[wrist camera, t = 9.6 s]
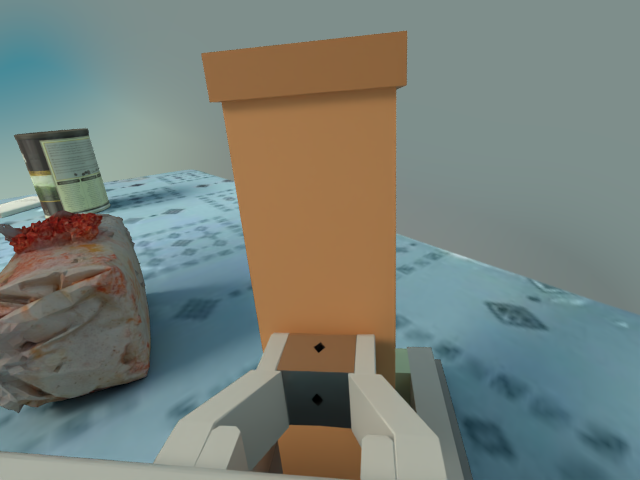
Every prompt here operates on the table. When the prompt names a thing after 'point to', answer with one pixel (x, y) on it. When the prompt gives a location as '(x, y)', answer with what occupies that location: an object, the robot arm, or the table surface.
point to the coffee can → (64, 171)
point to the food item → (71, 310)
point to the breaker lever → (317, 201)
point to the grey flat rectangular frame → (425, 399)
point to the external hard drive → (19, 206)
